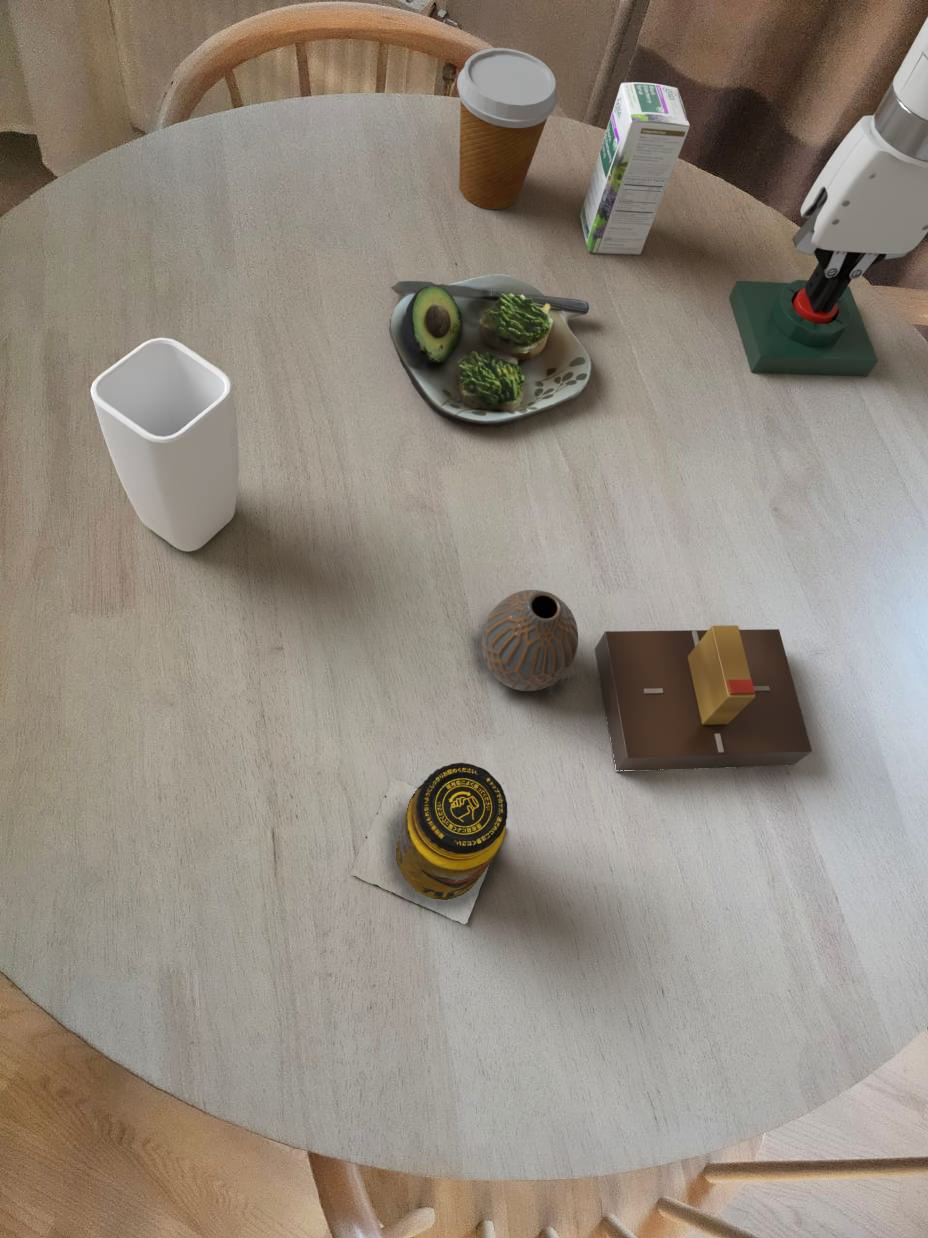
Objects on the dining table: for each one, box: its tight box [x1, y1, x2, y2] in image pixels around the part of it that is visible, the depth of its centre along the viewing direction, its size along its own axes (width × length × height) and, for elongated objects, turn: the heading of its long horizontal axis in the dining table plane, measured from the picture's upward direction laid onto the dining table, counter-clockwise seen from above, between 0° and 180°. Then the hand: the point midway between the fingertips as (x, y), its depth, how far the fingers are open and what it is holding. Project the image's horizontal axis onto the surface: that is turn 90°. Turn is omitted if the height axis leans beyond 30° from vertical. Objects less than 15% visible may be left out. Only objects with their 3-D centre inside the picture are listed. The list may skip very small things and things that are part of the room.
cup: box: [89, 337, 240, 552], centre depth 67 cm, size 7×7×15 cm
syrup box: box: [579, 81, 691, 255], centre depth 90 cm, size 6×6×14 cm
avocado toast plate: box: [388, 273, 593, 428], centre depth 85 cm, size 19×18×5 cm
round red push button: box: [792, 288, 838, 324], centre depth 90 cm, size 4×4×2 cm
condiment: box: [396, 762, 508, 900], centre depth 59 cm, size 7×8×12 cm
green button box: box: [728, 279, 879, 378], centre depth 92 cm, size 12×10×4 cm
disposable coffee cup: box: [456, 47, 559, 210], centre depth 92 cm, size 10×10×12 cm
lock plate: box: [594, 628, 813, 771], centre depth 71 cm, size 14×10×3 cm
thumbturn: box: [688, 624, 755, 725], centre depth 67 cm, size 6×2×5 cm, turn 5°
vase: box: [481, 589, 579, 692], centre depth 68 cm, size 7×7×9 cm
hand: (816, 301), depth 90 cm, fingers closed
